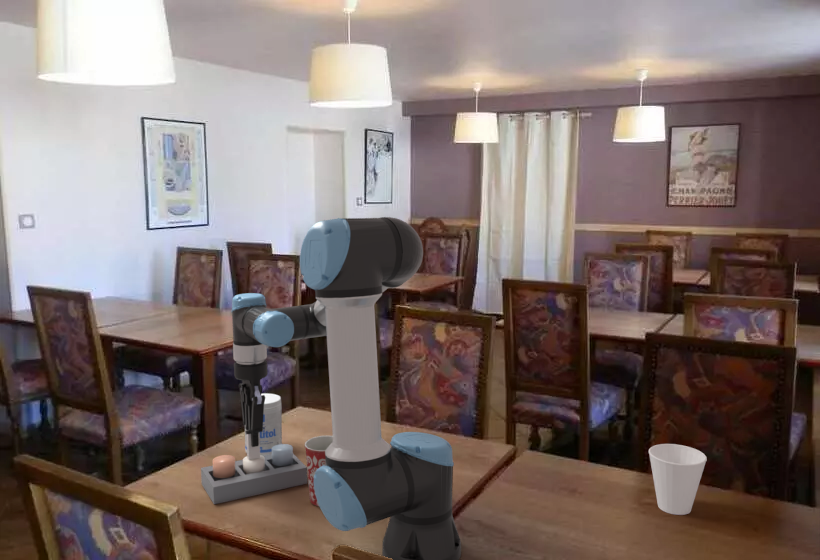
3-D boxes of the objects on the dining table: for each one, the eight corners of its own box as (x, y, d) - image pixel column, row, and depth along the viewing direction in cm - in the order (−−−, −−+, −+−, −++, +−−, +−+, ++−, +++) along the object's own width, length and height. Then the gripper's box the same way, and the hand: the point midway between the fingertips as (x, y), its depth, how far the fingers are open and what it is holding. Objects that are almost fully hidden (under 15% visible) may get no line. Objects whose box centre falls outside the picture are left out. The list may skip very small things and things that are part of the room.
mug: (334, 512, 149) (333, 452, 147) (298, 504, 152) (296, 446, 151) (360, 488, 160) (359, 433, 159) (326, 482, 164) (325, 427, 162)
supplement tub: (250, 461, 176) (249, 406, 174) (241, 449, 184) (239, 396, 182) (287, 454, 181) (286, 400, 179) (276, 442, 189) (275, 390, 187)
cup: (667, 523, 144) (670, 467, 142) (635, 498, 155) (637, 446, 154) (715, 516, 147) (719, 461, 145) (680, 492, 159) (683, 441, 157)
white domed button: (267, 474, 162) (267, 460, 161) (246, 478, 159) (246, 464, 159) (261, 466, 166) (260, 453, 166) (240, 471, 164) (240, 457, 163)
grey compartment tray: (307, 483, 163) (307, 467, 163) (213, 504, 153) (213, 487, 152) (290, 465, 174) (289, 450, 173) (201, 483, 163) (200, 467, 162)
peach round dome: (238, 475, 158) (237, 460, 158) (216, 479, 156) (215, 465, 155) (232, 467, 162) (231, 453, 162) (210, 471, 160) (210, 457, 160)
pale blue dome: (295, 463, 165) (295, 449, 164) (275, 467, 163) (275, 453, 162) (288, 456, 169) (288, 442, 169) (269, 460, 167) (268, 446, 166)
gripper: (275, 364, 155) (278, 464, 158) (258, 352, 166) (260, 445, 170) (242, 369, 151) (245, 471, 155) (227, 356, 163) (230, 451, 166)
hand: (253, 457), depth 162 cm, fingers closed
